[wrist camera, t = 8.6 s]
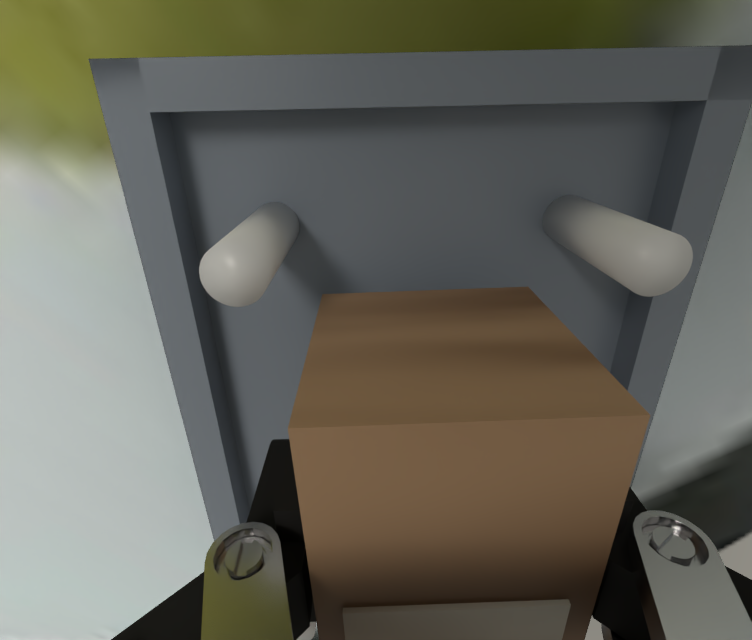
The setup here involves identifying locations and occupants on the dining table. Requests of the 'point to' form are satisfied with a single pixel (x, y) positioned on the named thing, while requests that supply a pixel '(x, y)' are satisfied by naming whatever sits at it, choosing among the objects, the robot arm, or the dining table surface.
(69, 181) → the dining table surface
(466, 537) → the labeled cardboard box
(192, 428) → the tray
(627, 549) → the robot arm
